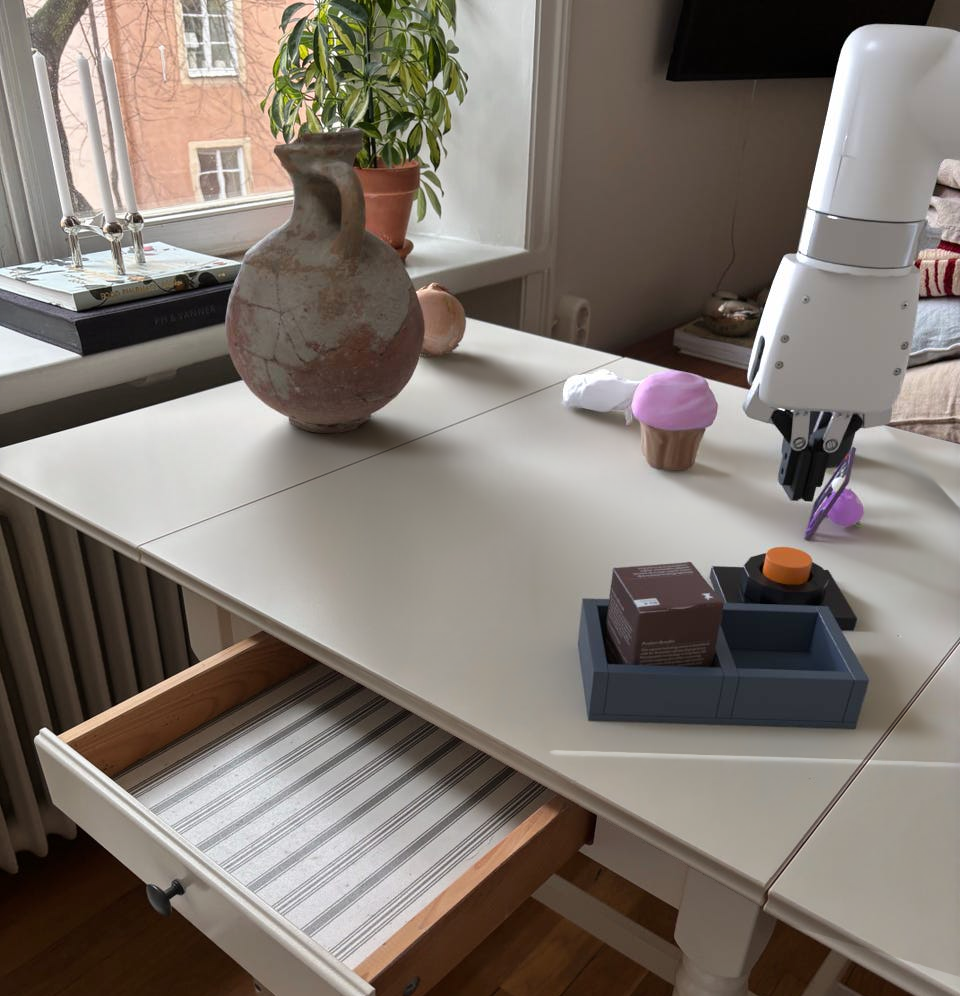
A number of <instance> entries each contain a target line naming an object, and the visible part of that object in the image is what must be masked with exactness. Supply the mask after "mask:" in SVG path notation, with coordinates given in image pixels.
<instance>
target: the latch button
mask: <svg viewBox="0 0 960 996" xmlns="http://www.w3.org/2000/svg"><path fill="white" fill-rule="evenodd" d="M765 553H766V557H765V562H764V567H763V571H762V572H763V575H764V576H766V577H767V578H769V579H770V580H772V581H775V582H779V583H783V584H796V585H800V584H804V583H806V582H807V581H808V578H809V574H810V570H811V566H812V562H813V558H812V556H811V555H810V554H808V553H807V552H806V551H803V550H801V549H798V548H795V547H790V546H775V547H772V548H769V549H768V550H767V551H766V552H765Z"/></svg>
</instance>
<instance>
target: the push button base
mask: <svg viewBox="0 0 960 996" xmlns="http://www.w3.org/2000/svg"><path fill="white" fill-rule="evenodd" d="M766 553H767V552H764V553H760V554H756V555H752V556H750V557H749V558H748V559H747V560H746V562H745V563H744V565H743V566H724V565H723V566H719V565H712V566H711V567H710V572H709V580H710V582H711V586H712V589H713V590H714V591H715V593H716V594H717V595H718V596H719V597H720V599H721V600H722V601H723V603H742V604H773V605H804V606H828V607H829V609H830V611H831V613H832V615H833V616H834V618H835V620H836V622H837V623H838V625H839V627H840V629H841V631H842V632H843V631H846V632H847V631H848V632H854V631H855V628H856V626H857V621H858V617H857V615H856V614H855V612H854V610H853V609H852V607H851V606H850V604H849V602H848V601H847V599H846V597H845V595H844V594H843V592H842V589H840V587H839V585H838V584H837V582H836V581H835V580H836V579H834V577H833V575H832V574H831V572H830V570H829V569H824V567H822V566H821V565H819V564H817V563H815V562H813V561H812V566H811V570H810V574H809V578H808V581H807V582H806V583H804V584H800V585H796V584H783V583H779V582H775V581H772V580H770V579H769V578H767V577H766V576H764V575H763V572H762V571H763V567H764V562H765V557H766Z"/></svg>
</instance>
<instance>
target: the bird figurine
mask: <svg viewBox="0 0 960 996" xmlns="http://www.w3.org/2000/svg"><path fill="white" fill-rule="evenodd" d="M642 381H643V380H640V381H633V380H630V379H628V378H623V377H621V376H619V375H617V374H616V373H615V372H613V371H611V370H608V369H599V370H597V371H595V372H593V373H589V374H586V373H582V374H577V375H574V376H571V377H568V378H567V380H566V381H565V384H564V386H563V390H562V398H563V401H562V402H561V405H564V406H565V407H568V406H573V407H576V408H581V409H582V408H583V409H586V410H590V411H594V412H598V413H599V412H600V413H601V412H602V413H603V412H604V413H607V412H610V411H614V412H615V411H625V409H626V411H625V426H630V424H633V419H636V420H638V419H637V418H636V417H635V416H634V414H633V410H632V402H633V398H634V394H635V391H636V389H637V387H638V386H639V384H640V383H641V382H642Z"/></svg>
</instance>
